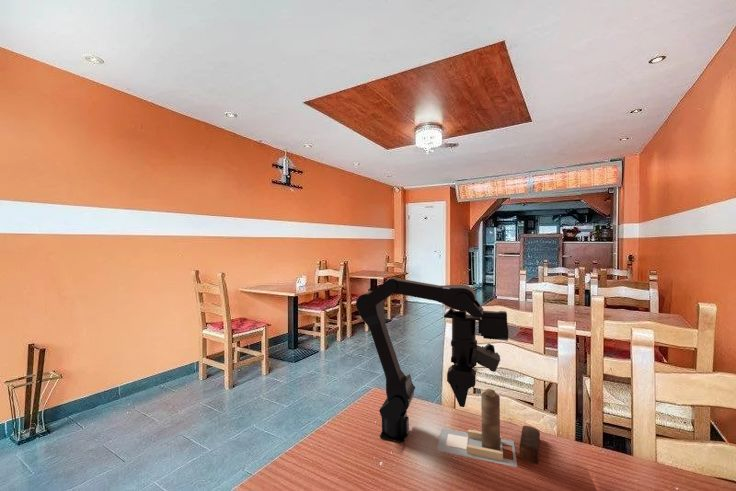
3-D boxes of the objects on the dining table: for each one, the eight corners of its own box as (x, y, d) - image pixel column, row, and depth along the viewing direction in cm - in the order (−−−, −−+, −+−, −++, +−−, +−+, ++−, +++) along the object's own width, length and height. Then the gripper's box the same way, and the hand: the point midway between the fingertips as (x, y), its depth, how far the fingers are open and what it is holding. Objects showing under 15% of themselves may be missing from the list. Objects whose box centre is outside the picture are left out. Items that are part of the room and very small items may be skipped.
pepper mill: (481, 452, 78) (481, 393, 77) (481, 441, 82) (481, 386, 81) (500, 455, 76) (500, 396, 76) (499, 445, 80) (499, 388, 80)
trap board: (436, 455, 78) (436, 443, 78) (441, 432, 88) (441, 422, 88) (517, 472, 72) (517, 460, 72) (513, 445, 82) (513, 434, 82)
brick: (538, 470, 73) (538, 450, 73) (519, 464, 75) (519, 444, 75) (540, 444, 82) (540, 426, 82) (523, 440, 84) (522, 422, 84)
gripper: (499, 352, 69) (499, 423, 69) (496, 329, 87) (496, 386, 87) (446, 346, 73) (446, 414, 73) (454, 325, 90) (454, 380, 91)
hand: (463, 397), depth 81 cm, fingers open, 9 cm apart
